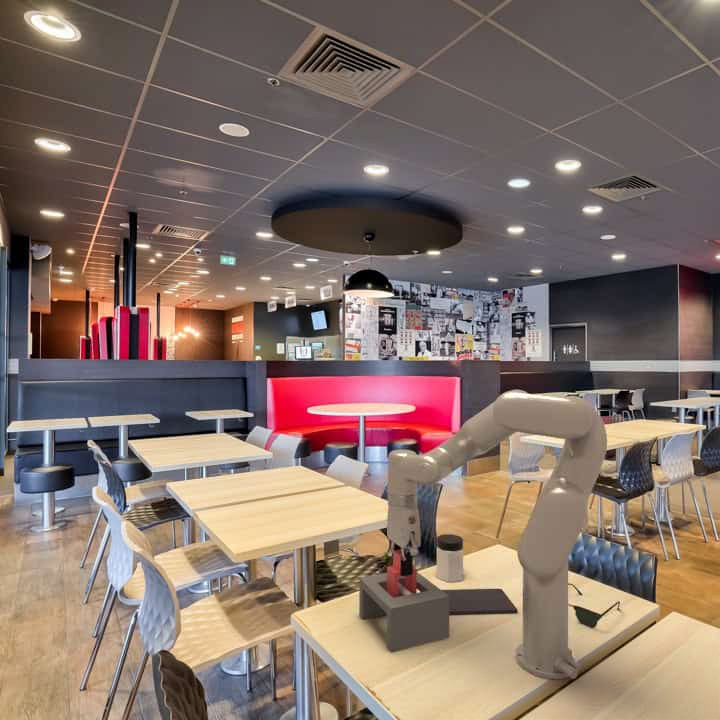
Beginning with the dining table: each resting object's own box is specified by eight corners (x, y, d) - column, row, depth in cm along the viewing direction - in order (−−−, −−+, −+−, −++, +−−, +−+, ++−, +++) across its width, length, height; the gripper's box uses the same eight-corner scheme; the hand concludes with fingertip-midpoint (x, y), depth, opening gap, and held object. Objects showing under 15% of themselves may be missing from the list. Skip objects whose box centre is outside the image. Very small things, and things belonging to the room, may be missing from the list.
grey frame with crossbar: (449, 637, 119) (449, 595, 119) (390, 652, 113) (390, 608, 113) (412, 604, 135) (412, 568, 136) (359, 616, 129) (359, 577, 129)
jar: (457, 570, 159) (457, 532, 159) (468, 580, 151) (468, 541, 151) (431, 572, 156) (431, 535, 157) (442, 583, 149) (442, 544, 149)
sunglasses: (630, 614, 131) (630, 595, 131) (600, 635, 121) (600, 615, 121) (571, 592, 144) (571, 574, 144) (539, 609, 134) (539, 591, 134)
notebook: (439, 617, 129) (517, 615, 131) (439, 611, 129) (517, 609, 131) (429, 595, 142) (501, 593, 143) (429, 590, 142) (501, 588, 143)
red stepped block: (416, 605, 124) (416, 553, 124) (393, 610, 121) (394, 556, 121) (408, 598, 127) (408, 547, 127) (386, 603, 125) (387, 551, 125)
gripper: (432, 506, 118) (432, 582, 118) (399, 490, 134) (399, 557, 133) (405, 509, 115) (405, 587, 115) (375, 492, 131) (374, 561, 130)
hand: (401, 570), depth 124 cm, fingers closed on red stepped block, 4 cm apart
